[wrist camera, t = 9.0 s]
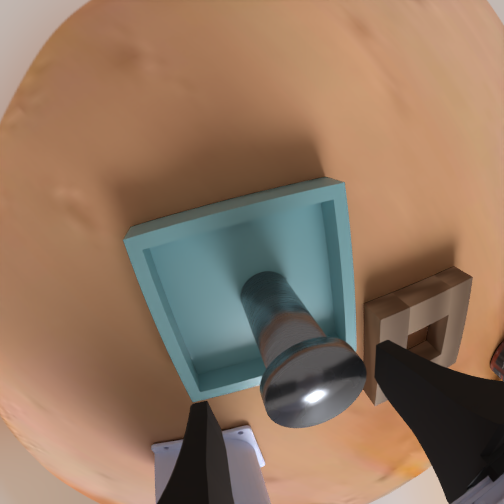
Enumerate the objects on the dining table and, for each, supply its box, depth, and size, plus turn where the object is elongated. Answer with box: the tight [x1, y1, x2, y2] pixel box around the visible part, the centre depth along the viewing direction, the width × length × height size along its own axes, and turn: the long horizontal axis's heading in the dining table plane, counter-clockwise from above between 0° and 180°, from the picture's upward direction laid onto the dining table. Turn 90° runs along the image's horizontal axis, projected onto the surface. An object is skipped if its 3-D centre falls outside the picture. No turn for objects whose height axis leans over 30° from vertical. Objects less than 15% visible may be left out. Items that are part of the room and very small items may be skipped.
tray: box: [123, 177, 356, 402], centre depth 19 cm, size 12×12×2 cm
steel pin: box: [240, 271, 367, 428], centre depth 16 cm, size 4×4×9 cm
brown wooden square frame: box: [363, 267, 473, 406], centre depth 24 cm, size 10×10×2 cm
